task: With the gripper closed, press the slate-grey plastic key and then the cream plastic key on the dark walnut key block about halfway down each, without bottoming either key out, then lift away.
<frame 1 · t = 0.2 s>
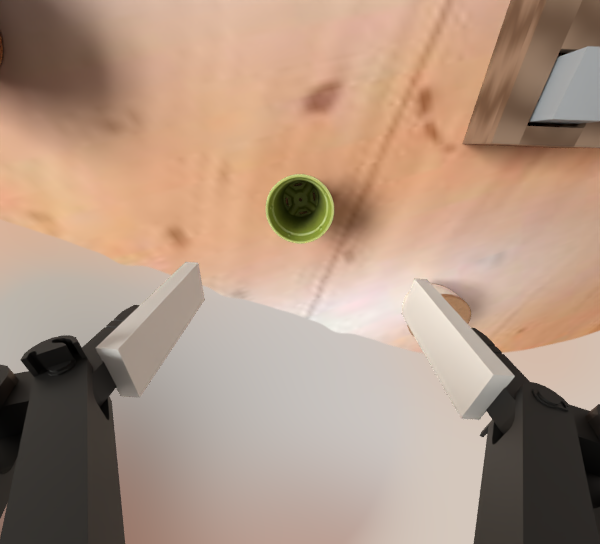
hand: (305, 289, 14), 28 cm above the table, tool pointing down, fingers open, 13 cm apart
lidded jar: (420, 296, 48), on the table
key block: (553, 41, 28), on the table
plant pot: (301, 198, 39), on the table
slate key: (577, 90, 26), point 6 cm above the table, slide at 0.0 cm
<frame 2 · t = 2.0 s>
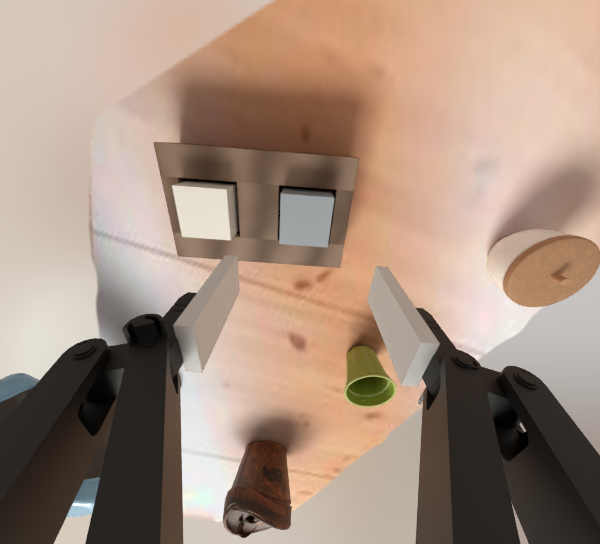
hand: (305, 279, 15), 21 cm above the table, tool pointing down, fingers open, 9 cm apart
lidded jar: (506, 251, 37), on the table
key block: (265, 202, 34), on the table
brown tapered cylinder: (265, 450, 71), on the table
plant pot: (360, 353, 49), on the table
slate key: (305, 217, 28), point 7 cm above the table, slide at 0.0 cm
cream key: (209, 210, 28), point 7 cm above the table, slide at 0.0 cm
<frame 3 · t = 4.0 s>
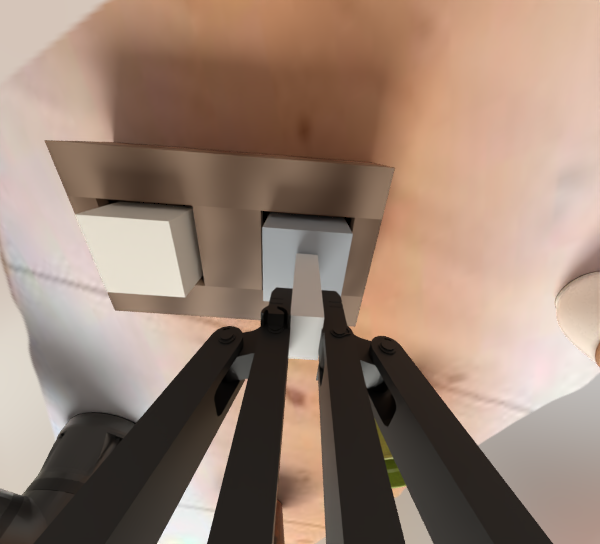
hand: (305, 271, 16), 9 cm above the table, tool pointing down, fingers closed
lidded jar: (582, 292, 27), on the table
key block: (247, 228, 23), on the table
brown tapered cylinder: (258, 503, 61), on the table
plant pot: (373, 409, 39), on the table
slate key: (304, 258, 18), point 6 cm above the table, slide at 0.2 cm, touching gripper
cream key: (151, 248, 18), point 7 cm above the table, slide at 0.0 cm
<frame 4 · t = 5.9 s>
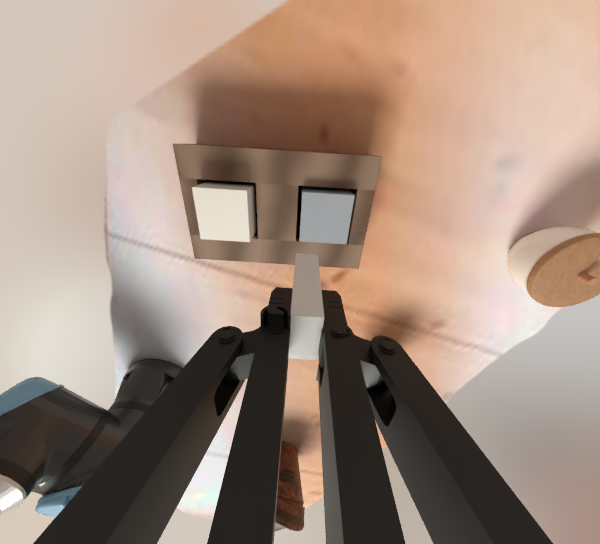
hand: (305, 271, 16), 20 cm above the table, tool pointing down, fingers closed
lidded jar: (527, 250, 36), on the table
key block: (281, 203, 33), on the table
brown tapered cylinder: (276, 450, 71), on the table
slate key: (324, 215, 29), point 5 cm above the table, slide at 1.3 cm
cream key: (227, 211, 28), point 7 cm above the table, slide at 0.0 cm
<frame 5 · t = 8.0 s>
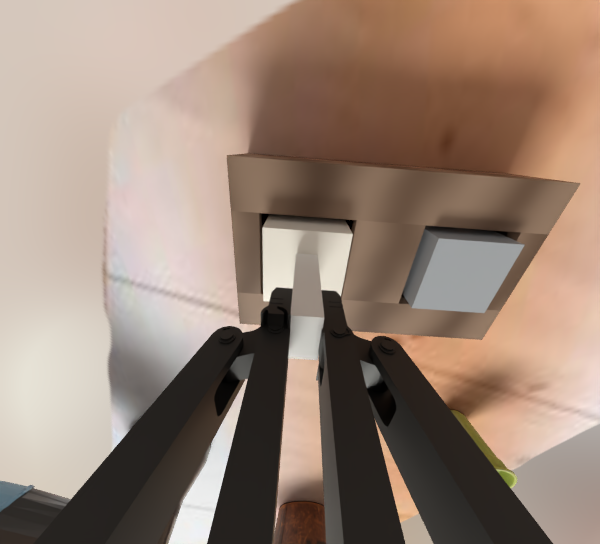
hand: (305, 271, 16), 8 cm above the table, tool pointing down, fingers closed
key block: (362, 239, 23), on the table
brown tapered cylinder: (302, 509, 61), on the table
plant pot: (444, 417, 39), on the table
slate key: (448, 266, 19), point 5 cm above the table, slide at 1.3 cm
cream key: (304, 258, 18), point 6 cm above the table, slide at 0.9 cm, touching gripper
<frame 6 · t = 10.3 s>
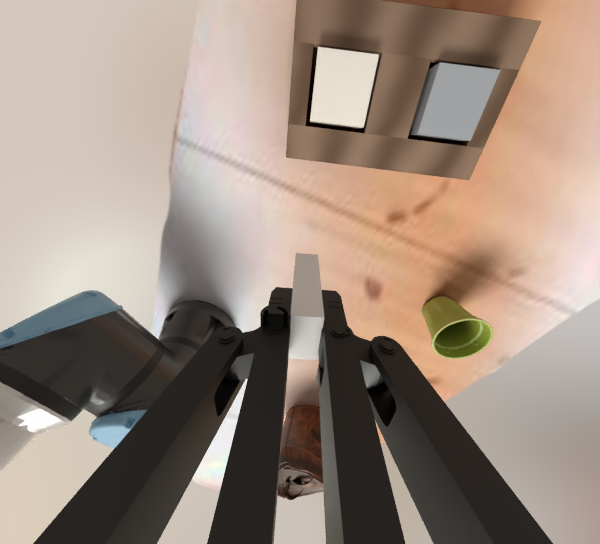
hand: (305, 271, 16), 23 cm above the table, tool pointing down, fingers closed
key block: (381, 106, 30), on the table
brown tapered cylinder: (306, 416, 69), on the table
plant pot: (437, 306, 46), on the table
slate key: (446, 106, 25), point 5 cm above the table, slide at 1.3 cm
cream key: (340, 93, 25), point 5 cm above the table, slide at 1.3 cm
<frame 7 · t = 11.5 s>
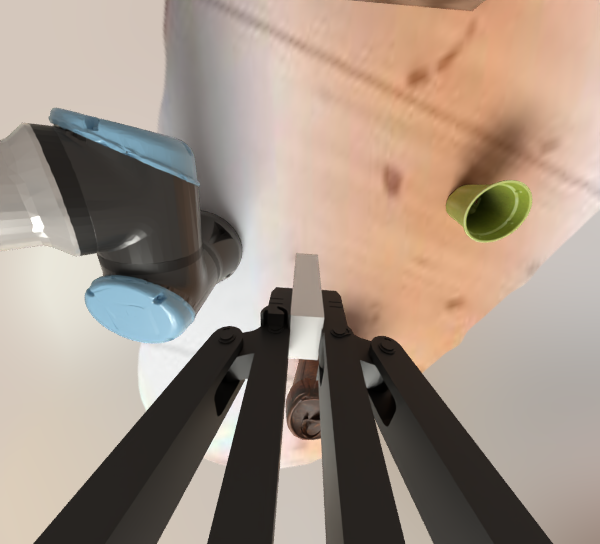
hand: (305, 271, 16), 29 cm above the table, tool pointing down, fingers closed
brown tapered cylinder: (320, 361, 64), on the table
plant pot: (462, 201, 42), on the table
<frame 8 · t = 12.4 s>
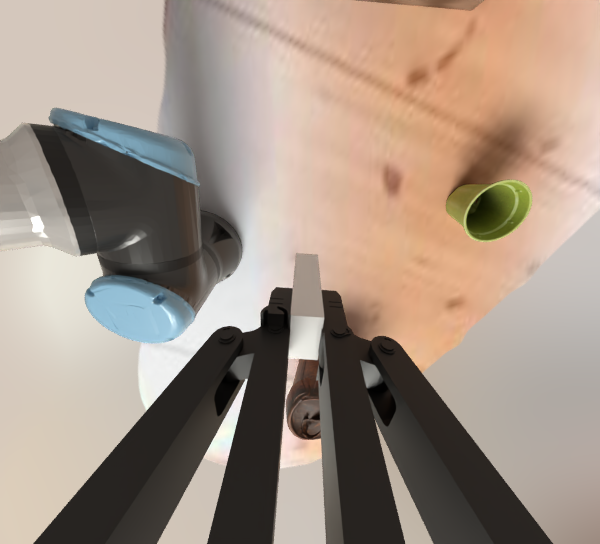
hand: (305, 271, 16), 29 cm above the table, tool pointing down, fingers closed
brown tapered cylinder: (321, 361, 64), on the table
plant pot: (462, 200, 42), on the table
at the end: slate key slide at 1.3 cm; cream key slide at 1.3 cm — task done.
